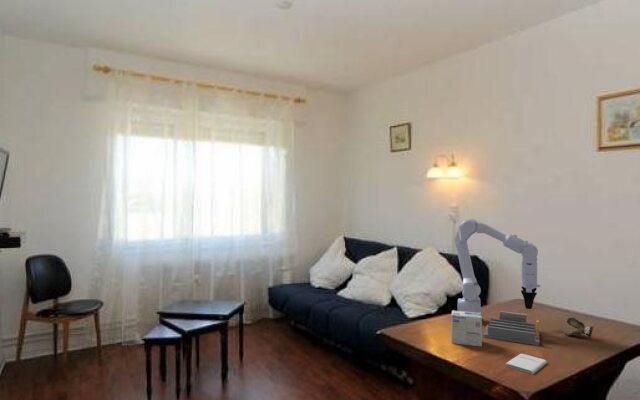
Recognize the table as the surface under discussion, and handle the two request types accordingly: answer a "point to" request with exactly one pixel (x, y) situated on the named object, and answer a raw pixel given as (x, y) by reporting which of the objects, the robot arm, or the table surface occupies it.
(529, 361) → the external hard drive
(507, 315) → the panel
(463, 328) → the light bulb box
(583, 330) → the eagle figurine
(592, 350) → the table surface
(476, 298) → the robot arm
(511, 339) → the slot rack
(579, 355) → the table surface
